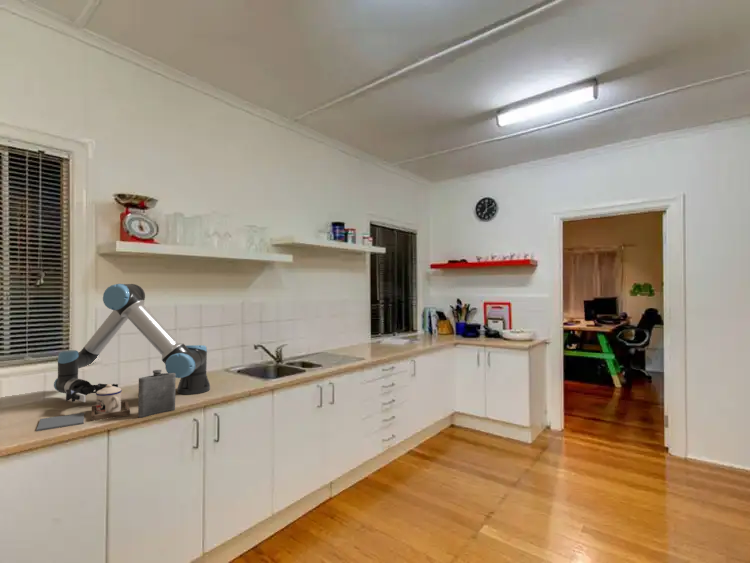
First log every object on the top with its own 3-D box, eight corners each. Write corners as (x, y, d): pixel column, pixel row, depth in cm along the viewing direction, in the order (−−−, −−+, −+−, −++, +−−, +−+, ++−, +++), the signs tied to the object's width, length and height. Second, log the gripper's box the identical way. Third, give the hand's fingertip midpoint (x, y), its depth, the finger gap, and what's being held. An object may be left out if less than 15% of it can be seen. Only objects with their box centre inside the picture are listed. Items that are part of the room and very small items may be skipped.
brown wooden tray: (127, 405, 179) (127, 400, 179) (129, 415, 166) (130, 410, 166) (91, 410, 172) (91, 405, 172) (91, 421, 159) (91, 416, 159)
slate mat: (84, 413, 167) (84, 412, 167) (83, 423, 156) (83, 422, 156) (40, 420, 159) (40, 418, 159) (36, 431, 148) (36, 429, 148)
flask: (136, 416, 165) (136, 372, 165) (172, 408, 176) (173, 367, 176) (139, 418, 163) (140, 373, 163) (176, 410, 173) (176, 368, 174)
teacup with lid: (91, 413, 168) (91, 385, 168) (114, 407, 176) (115, 380, 176) (105, 418, 162) (106, 389, 162) (129, 412, 170) (129, 384, 170)
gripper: (107, 389, 193) (132, 396, 182) (44, 403, 171) (68, 411, 161) (107, 374, 193) (132, 379, 182) (44, 385, 171) (68, 392, 161)
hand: (102, 394), depth 171 cm, fingers open, 13 cm apart
